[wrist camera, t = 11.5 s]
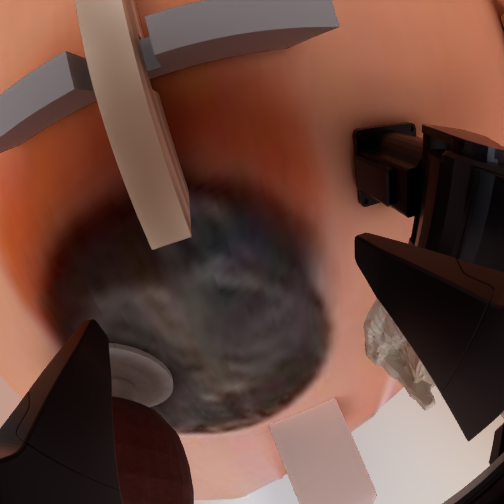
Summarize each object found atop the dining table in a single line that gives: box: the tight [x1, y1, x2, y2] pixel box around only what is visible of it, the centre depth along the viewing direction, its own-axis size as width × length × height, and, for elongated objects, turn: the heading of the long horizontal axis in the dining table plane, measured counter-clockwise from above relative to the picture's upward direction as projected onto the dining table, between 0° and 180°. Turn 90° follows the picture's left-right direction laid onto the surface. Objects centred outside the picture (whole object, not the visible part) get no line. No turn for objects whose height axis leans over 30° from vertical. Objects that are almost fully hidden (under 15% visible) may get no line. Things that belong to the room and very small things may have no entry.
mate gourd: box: [109, 343, 194, 504], centre depth 18 cm, size 16×14×20 cm
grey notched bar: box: [0, 0, 339, 153], centre depth 11 cm, size 20×2×7 cm, turn 102°
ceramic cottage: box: [364, 298, 436, 410], centre depth 26 cm, size 16×16×15 cm
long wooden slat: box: [75, 0, 192, 250], centre depth 11 cm, size 2×18×7 cm, turn 12°
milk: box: [268, 398, 377, 504], centre depth 31 cm, size 12×12×26 cm
